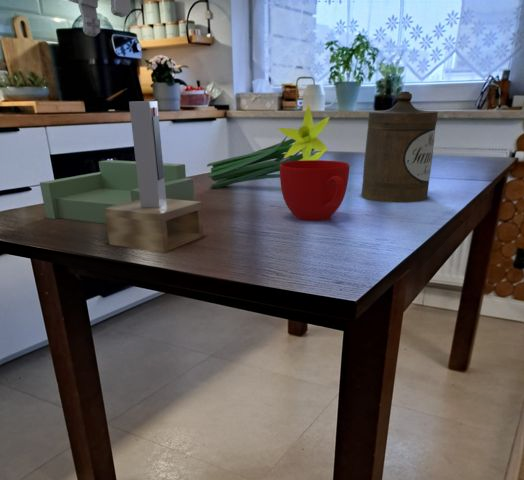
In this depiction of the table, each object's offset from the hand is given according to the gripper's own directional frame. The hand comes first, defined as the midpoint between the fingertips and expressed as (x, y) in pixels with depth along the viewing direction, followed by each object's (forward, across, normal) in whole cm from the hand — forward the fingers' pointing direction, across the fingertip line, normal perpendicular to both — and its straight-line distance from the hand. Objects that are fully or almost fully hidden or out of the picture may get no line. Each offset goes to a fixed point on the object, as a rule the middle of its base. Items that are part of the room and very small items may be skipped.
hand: (105, 25), depth 64 cm
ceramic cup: (+22, -4, +43) cm, 49 cm away
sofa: (+23, -32, +16) cm, 43 cm away
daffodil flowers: (+15, -37, +56) cm, 69 cm away
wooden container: (+16, -10, +73) cm, 75 cm away
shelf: (+27, -10, +12) cm, 31 cm away
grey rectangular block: (+21, -9, +11) cm, 25 cm away
